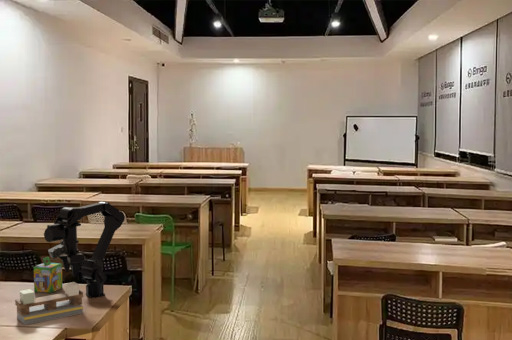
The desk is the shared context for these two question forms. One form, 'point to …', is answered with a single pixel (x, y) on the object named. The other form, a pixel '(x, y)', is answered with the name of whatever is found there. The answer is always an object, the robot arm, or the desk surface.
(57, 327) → the desk surface
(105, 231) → the robot arm
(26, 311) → the pallet
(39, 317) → the dock
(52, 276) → the chalk box
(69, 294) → the block
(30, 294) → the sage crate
